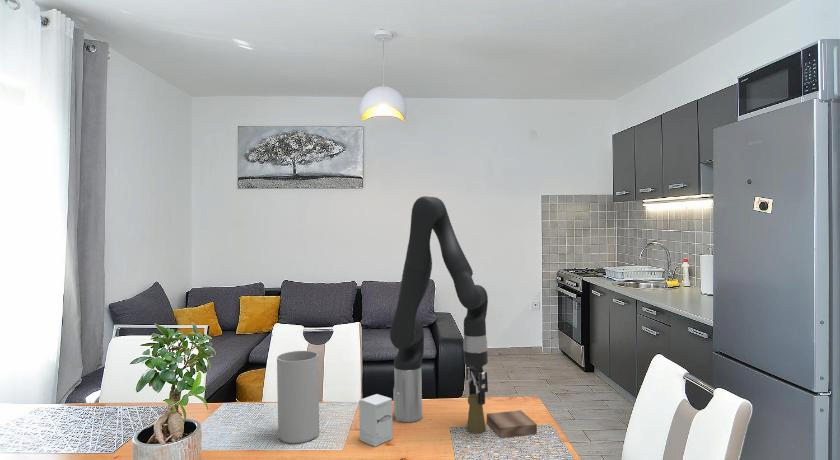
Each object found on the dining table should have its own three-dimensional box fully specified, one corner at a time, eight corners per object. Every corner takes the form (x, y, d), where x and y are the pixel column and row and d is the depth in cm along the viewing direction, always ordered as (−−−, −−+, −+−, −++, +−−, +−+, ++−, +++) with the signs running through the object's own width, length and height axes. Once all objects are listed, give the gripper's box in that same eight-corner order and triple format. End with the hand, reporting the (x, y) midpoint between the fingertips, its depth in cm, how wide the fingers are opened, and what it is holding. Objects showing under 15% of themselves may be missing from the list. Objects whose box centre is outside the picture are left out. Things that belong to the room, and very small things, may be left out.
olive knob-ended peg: (485, 433, 159) (484, 398, 158) (465, 432, 160) (465, 397, 160) (486, 426, 165) (486, 392, 164) (467, 424, 166) (467, 391, 166)
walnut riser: (500, 437, 156) (500, 428, 155) (486, 422, 167) (486, 413, 167) (536, 433, 158) (536, 424, 158) (520, 419, 170) (520, 410, 170)
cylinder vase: (327, 431, 162) (326, 353, 162) (302, 447, 151) (301, 363, 150) (295, 425, 167) (294, 349, 167) (269, 440, 156) (268, 358, 156)
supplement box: (375, 447, 150) (374, 404, 150) (358, 440, 155) (358, 399, 155) (393, 439, 155) (392, 398, 155) (377, 432, 161) (376, 392, 160)
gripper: (457, 344, 168) (459, 393, 168) (471, 355, 154) (472, 408, 154) (479, 342, 170) (480, 391, 170) (494, 353, 156) (496, 406, 156)
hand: (477, 399), depth 162 cm, fingers open, 8 cm apart
